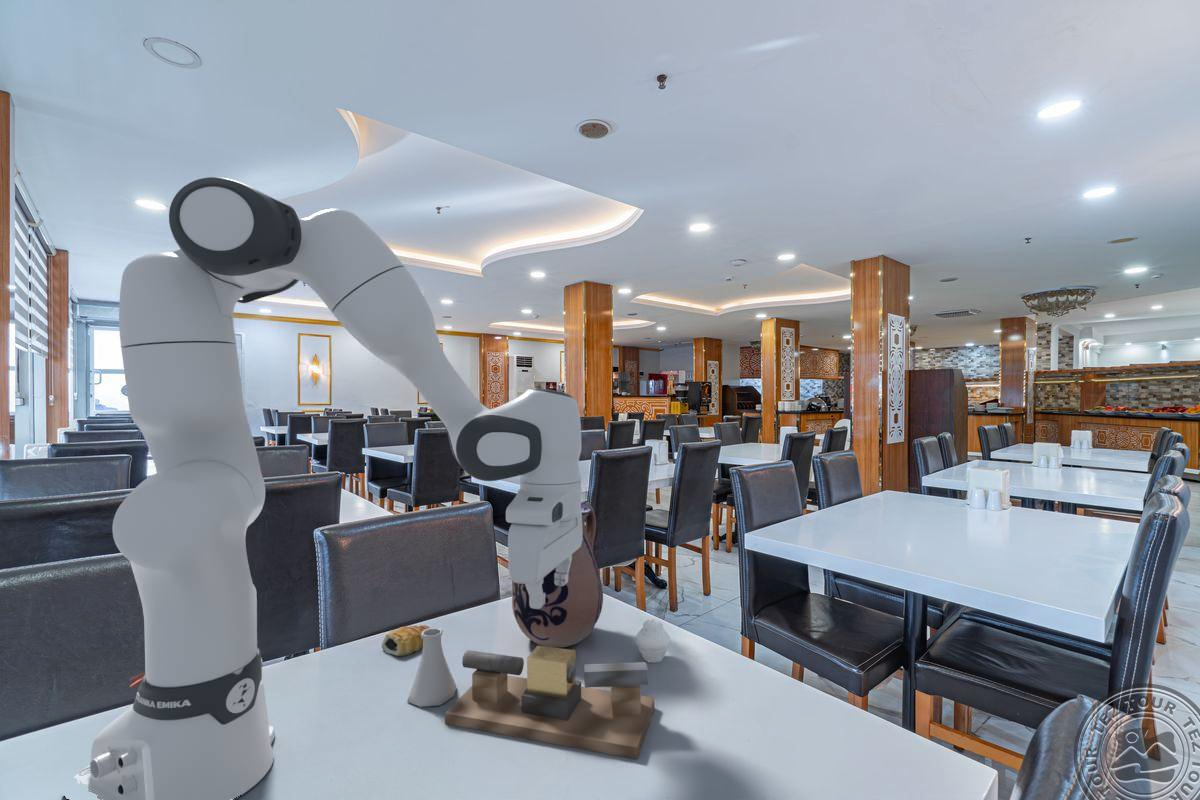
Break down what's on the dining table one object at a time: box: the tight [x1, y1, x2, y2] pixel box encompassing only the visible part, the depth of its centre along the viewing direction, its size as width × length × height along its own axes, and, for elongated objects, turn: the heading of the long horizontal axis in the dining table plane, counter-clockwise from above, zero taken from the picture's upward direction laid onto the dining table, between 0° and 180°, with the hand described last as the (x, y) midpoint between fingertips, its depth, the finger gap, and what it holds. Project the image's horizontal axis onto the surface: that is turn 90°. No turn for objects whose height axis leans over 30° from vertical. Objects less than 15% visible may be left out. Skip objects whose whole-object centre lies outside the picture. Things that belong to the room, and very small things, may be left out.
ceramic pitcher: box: [511, 501, 604, 649], centre depth 107 cm, size 18×21×25 cm
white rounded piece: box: [635, 618, 671, 663], centre depth 97 cm, size 6×6×7 cm
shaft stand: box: [444, 649, 655, 760], centre depth 80 cm, size 28×12×8 cm, turn 74°
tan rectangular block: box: [526, 645, 577, 699], centre depth 80 cm, size 7×4×5 cm, turn 74°
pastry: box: [381, 624, 431, 657], centre depth 103 cm, size 9×7×4 cm
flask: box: [407, 627, 457, 708], centre depth 85 cm, size 7×7×10 cm
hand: (550, 595), depth 79 cm, fingers open, 8 cm apart
